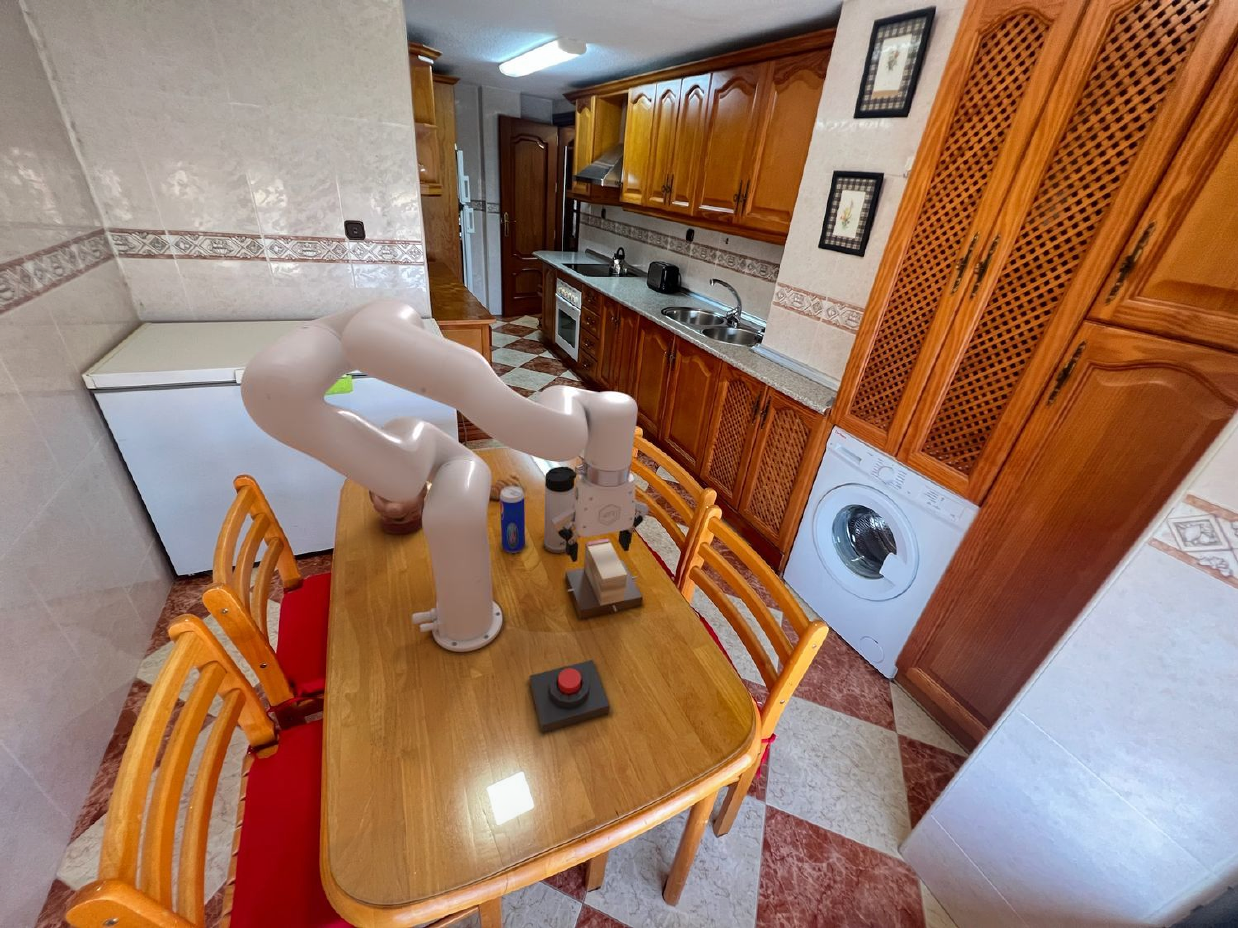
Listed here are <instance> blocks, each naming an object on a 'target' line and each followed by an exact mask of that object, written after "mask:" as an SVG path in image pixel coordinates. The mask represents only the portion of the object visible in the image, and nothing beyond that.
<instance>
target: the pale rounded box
mask: <svg viewBox="0 0 1238 928" xmlns="http://www.w3.org/2000/svg"><path fill="white" fill-rule="evenodd" d="M621 561H622V560H621V559H620V558H619V556H618V553H617V552H616V550H615V548H614V546H613V544H612V542H611V540H610V538H603V539H596V540H590V541H586V542H585V547H584V562H583V568H584V569H585V571H586V574H587V576H588V578H589V581H590V583H591V585H592V588H593V590H594V592H595V595H596V597H597V599H598V601H599V604H600V606H601V605H606V604H610V603H615V602H620V601H624V597H625V589H626V581H627V573H626V571H625V569H624V567H623V565H622V563H621Z"/></svg>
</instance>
